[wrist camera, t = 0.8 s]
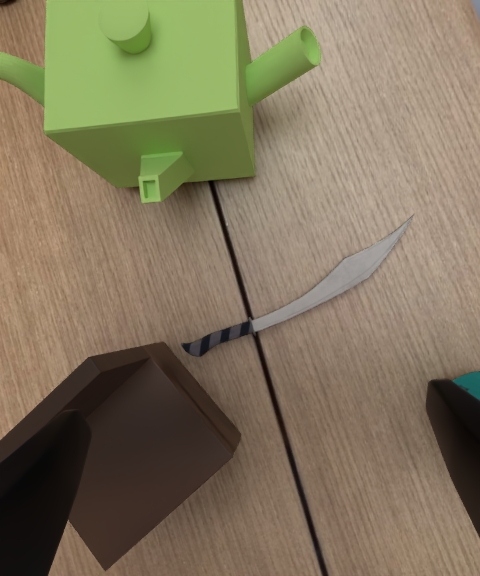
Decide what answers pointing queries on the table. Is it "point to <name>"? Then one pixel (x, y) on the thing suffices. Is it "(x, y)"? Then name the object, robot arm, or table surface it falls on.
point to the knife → (309, 293)
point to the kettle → (156, 88)
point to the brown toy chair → (134, 443)
